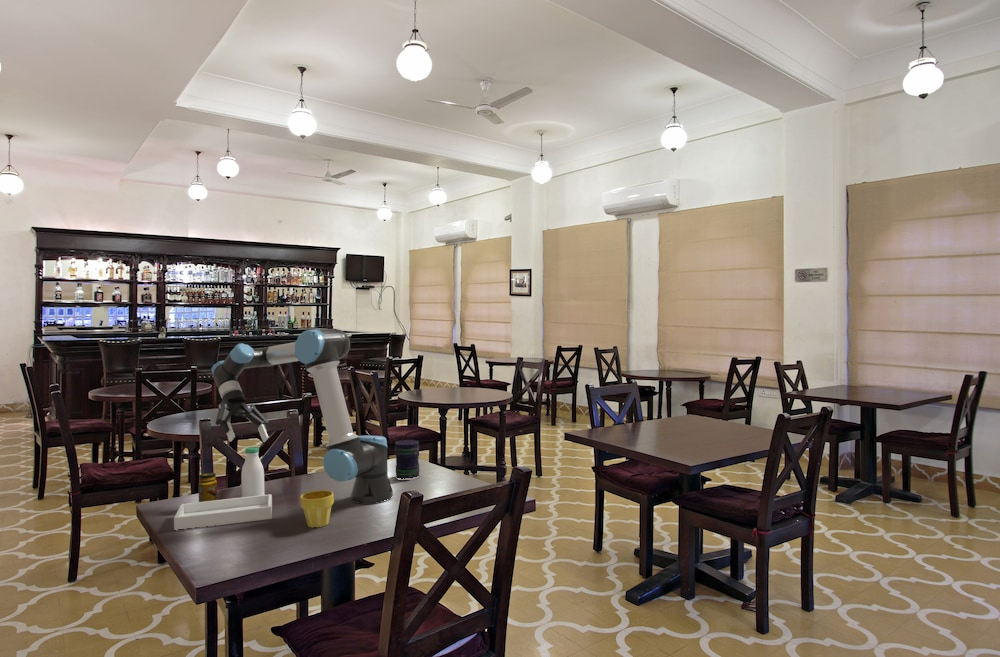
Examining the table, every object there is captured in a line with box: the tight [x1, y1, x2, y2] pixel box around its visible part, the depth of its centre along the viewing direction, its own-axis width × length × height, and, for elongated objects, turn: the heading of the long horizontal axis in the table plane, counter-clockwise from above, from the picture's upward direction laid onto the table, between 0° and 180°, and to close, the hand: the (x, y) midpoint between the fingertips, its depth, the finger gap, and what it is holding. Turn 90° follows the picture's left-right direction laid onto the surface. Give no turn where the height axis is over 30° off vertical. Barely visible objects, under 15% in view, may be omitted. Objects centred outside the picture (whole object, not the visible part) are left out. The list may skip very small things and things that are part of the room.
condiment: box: [197, 471, 218, 502], centre depth 217 cm, size 7×8×12 cm
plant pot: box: [300, 489, 335, 528], centre depth 196 cm, size 10×10×10 cm
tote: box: [173, 493, 273, 531], centre depth 205 cm, size 29×16×4 cm, turn 110°
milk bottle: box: [240, 446, 266, 498], centre depth 222 cm, size 8×8×20 cm
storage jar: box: [394, 439, 420, 479], centre depth 252 cm, size 10×10×15 cm
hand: (249, 439), depth 219 cm, fingers open, 13 cm apart
